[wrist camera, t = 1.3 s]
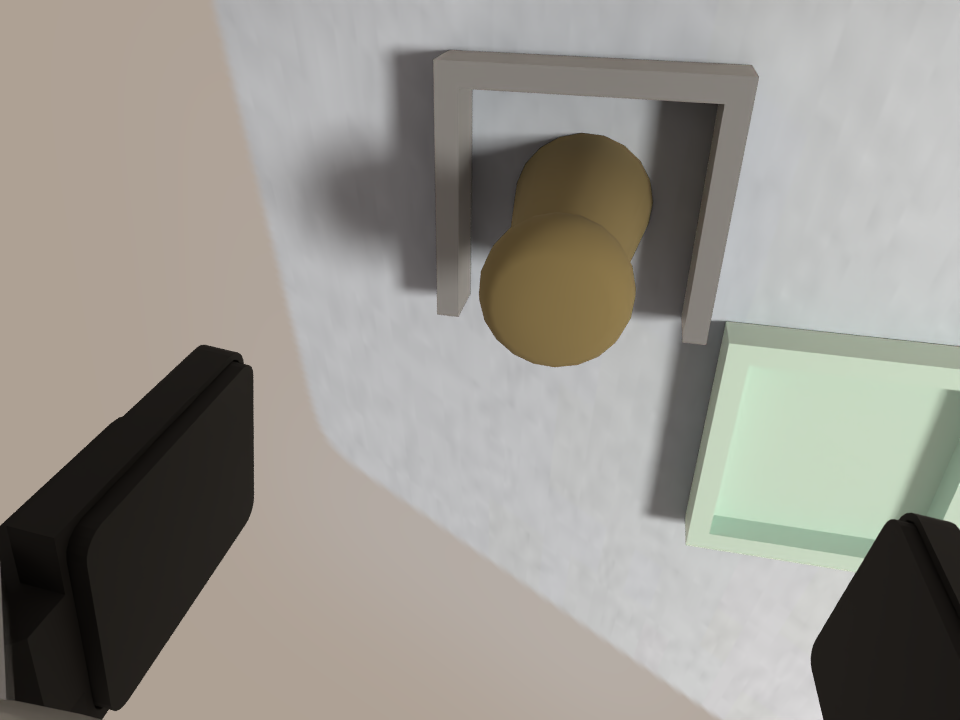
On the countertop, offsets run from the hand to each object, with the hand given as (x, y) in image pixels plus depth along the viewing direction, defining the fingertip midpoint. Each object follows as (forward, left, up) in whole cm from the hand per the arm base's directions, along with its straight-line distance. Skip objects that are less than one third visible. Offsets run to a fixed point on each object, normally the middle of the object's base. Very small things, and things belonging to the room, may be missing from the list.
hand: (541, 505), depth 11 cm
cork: (+1, +3, -24) cm, 24 cm away
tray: (-12, +14, -24) cm, 30 cm away
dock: (+1, +3, -24) cm, 24 cm away
